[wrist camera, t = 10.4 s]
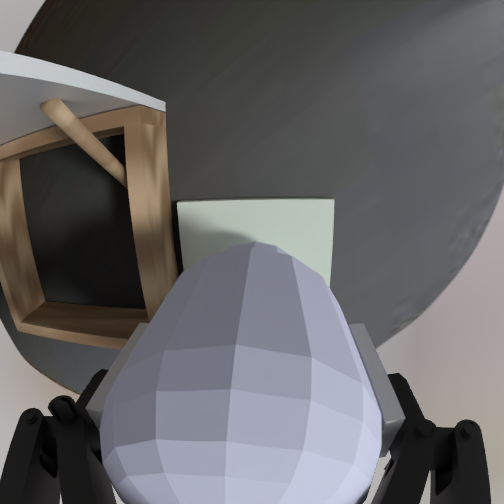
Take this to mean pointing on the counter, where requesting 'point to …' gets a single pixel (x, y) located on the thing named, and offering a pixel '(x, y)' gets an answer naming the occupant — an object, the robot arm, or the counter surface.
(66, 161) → the counter surface
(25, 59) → the lid
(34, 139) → the frame
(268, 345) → the soap bottle
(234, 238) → the trivet
